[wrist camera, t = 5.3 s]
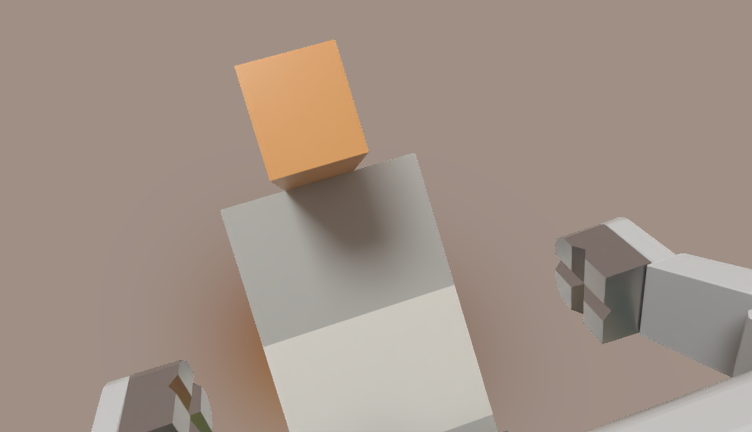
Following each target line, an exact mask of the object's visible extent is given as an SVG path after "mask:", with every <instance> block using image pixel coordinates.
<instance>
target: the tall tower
mask: <svg viewBox="0 0 752 432" xmlns="http://www.w3.org/2000/svg"><path fill="white" fill-rule="evenodd" d="M220 211H221V214H222V217H223V221H224V224H225V227H226V230H227V233H228V237H229V240H230V243H231V246H232V249H233V253H234V256H235V259H236V262H237V265H238V269H239V272H240V275H241V278H242V281H243V284H244V287H245V291H246V294H247V297H248V300H249V304H250V306H251V310H252V313H253V316H254V319H255V323H256V326H257V329H258V332H259V335H260V339H261V342H262V345H263V348H264V351H265V354H266V358H267V361H268V364H269V367H270V370H271V373H272V377H273V380H274V383H275V386H276V390H277V393H278V396H279V399H280V402H281V406H282V409H283V412H284V415H285V418H286V421H287V425H288V428H289V431H290V432H498V430H497V426H496V423H495V420H494V417H493V413H492V410H491V406H490V403H489V400H488V396H487V393H486V389H485V386H484V383H483V379H482V376H481V373H480V369H479V366H478V363H477V359H476V356H475V353H474V349H473V346H472V343H471V339H470V336H469V333H468V329H467V326H466V322H465V319H464V316H463V312H462V309H461V306H460V302H459V299H458V295H457V292H456V289H455V285H454V282H453V279H452V275H451V272H450V269H449V265H448V262H447V259H446V255H445V252H444V248H443V245H442V242H441V238H440V235H439V232H438V228H437V225H436V222H435V218H434V215H433V211H432V208H431V205H430V201H429V198H428V195H427V191H426V188H425V185H424V181H423V178H422V175H421V171H420V168H419V165H418V161H417V158H416V155H415V153H412V154H409V155H406V156H402V157H399V158H396V159H392V160H388V161H385V162H382V163H379V164H375V165H372V166H368V167H365V168H361V169H358V170H355V171H351V172H348V173H344V174H341V175H338V176H334V177H331V178H328V179H324V180H321V181H317V182H314V183H311V184H307V185H304V186H301V187H297V188H294V189H290V190H287V191H284V192H281V193H277V194H273V195H270V196H267V197H263V198H260V199H257V200H253V201H250V202H246V203H243V204H240V205H236V206H233V207H229V208H226V209H223V210H220Z"/></svg>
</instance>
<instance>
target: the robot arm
mask: <svg viewBox="0 0 752 432" xmlns="http://www.w3.org/2000/svg"><path fill="white" fill-rule="evenodd" d="M555 254H556V255H557V256H558V257H559V259H560V260H561V261H560V263H559V265H558V266H557V268H556V270H555V274H556V283H557V286H558V289H559V292H560V295H561V296H562V298H563V300H564V301H565V303H566V304H567V305H568V306H569V307H570V308H571V310H574V311H577V312H579V313H582V314H583V318H584V319H583V323H584V324H585V326H586V327H587V328H588V329H589V330H590V331H591V332H592V333H593V335H594V336H595V337H596V338H597V339H598V340H599V341H600V342H601V343H602V344H604V343H608V342H611V341H614V340H617V339H620V338H623V337H627V336H630V335H633V334H636V333H639V332H640V335H642V336H644V337H646V338H648V339H651V340H653V341H655V342H657V343H659V344H661V345H663V346H666V347H668V348H670V349H672V350H674V351H676V352H679V353H681V354H683V355H685V356H687V357H689V358H692V359H694V360H696V361H698V362H700V363H702V364H704V365H706V366H709V367H711V368H713V369H715V370H717V371H719V372H721V373H724V374H726V375H728V376H730V377H731V378H730V379H727V380H724V381H721V382H719V383H716V384H713V385H711V386H708V387H705V388H702V389H700V390H697V391H694V392H692V393H689V394H686V395H684V396H681V397H678V398H675V399H673V400H670V401H667V402H665V403H662V404H659V405H656V406H654V407H651V408H648V409H645V410H643V411H640V412H637V413H635V414H632V415H629V416H627V417H624V418H621V419H618V420H616V421H613V422H610V423H608V424H605V425H602V426H599V427H597V428H594V429H591V430H588V431H586V432H752V269H747V268H743V267H739V266H735V265H731V264H727V263H722V262H718V261H714V260H710V259H705V258H702V257H697V256H693V255H689V254H685V253H682V254H679V255H676V254H674V253H673V252H672V251H670V250H669V249H668V248H666V247H665V246H663V245H662V244H661V243H659V242H658V241H656V240H655V239H654V238H653V237H651V236H650V235H649V234H647V233H646V232H645V231H643V230H642V229H640V228H639V227H638V226H636V225H635V224H633V223H632V222H631V221H630V220H628V219H627V218H623V217H619V218H616V219H613V220H610V221H607V222H604V223H601V224H599V225H597V226H594V227H591V228H588V229H585V230H582V231H578V232H576V233H573V234H569V235H566V236H564V237H561V238H558V239H557V241H556V244H555ZM91 432H212V414H211V408H210V404H209V401H208V398H207V395H206V393H205V392H204V390H203V388H202V387H201V386H199V385H197V384H194V383H193V371H192V369H191V367H190V366H189V364H188V363H187V361H184V360H179V361H176V362H173V363H169V364H166V365H163V366H159V367H156V368H153V369H149V370H146V371H143V372H139V373H136V374H133V375H131V376H127V377H124V378H121V379H118V380H114V381H111V382H108V383H107V384H106V385H105V387H104V388H103V390H102V393H101V397H100V401H99V404H98V408H97V412H96V416H95V419H94V423H93V426H92V430H91Z"/></svg>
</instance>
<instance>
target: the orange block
mask: <svg viewBox="0 0 752 432" xmlns="http://www.w3.org/2000/svg"><path fill="white" fill-rule="evenodd" d="M235 69H236V73H237V76H238V79H239V82H240V85H241V89H242V92H243V95H244V99H245V101H246V105H247V108H248V112H249V115H250V118H251V121H252V124H253V128H254V131H255V134H256V137H257V140H258V144H259V147H260V150H261V154H262V157H263V160H264V163H265V166H266V170H267V173H268V176H269V179H270V181H271V182H272V183H274V184H276V185H277V186H279V187H280V188H281V189H283V190H284V191H287V190H290V189H294V188H297V187H301V186H304V185H307V184H311V183H314V182H317V181H321V180H324V179H328V178H331V177H334V176H338V175H341V174H344V173H348V172H351V171H354V170H355V168H356V167H357V166H358V164H359V163H360V162H361V161H362V160H363V158H364V157H365V156H366V155H367V154H368V152H369V151H368V148H367V145H366V141H365V138H364V134H363V131H362V128H361V124H360V121H359V118H358V115H357V111H356V108H355V104H354V101H353V98H352V94H351V91H350V88H349V84H348V81H347V78H346V74H345V71H344V68H343V65H342V61H341V58H340V55H339V51H338V48H337V45H336V41H335V39H334V40H331V41H327V42H323V43H319V44H315V45H312V46H308V47H305V48H301V49H297V50H293V51H289V52H286V53H282V54H278V55H274V56H271V57H267V58H263V59H259V60H256V61H252V62H248V63H244V64H241V65H237V66H235Z"/></svg>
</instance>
